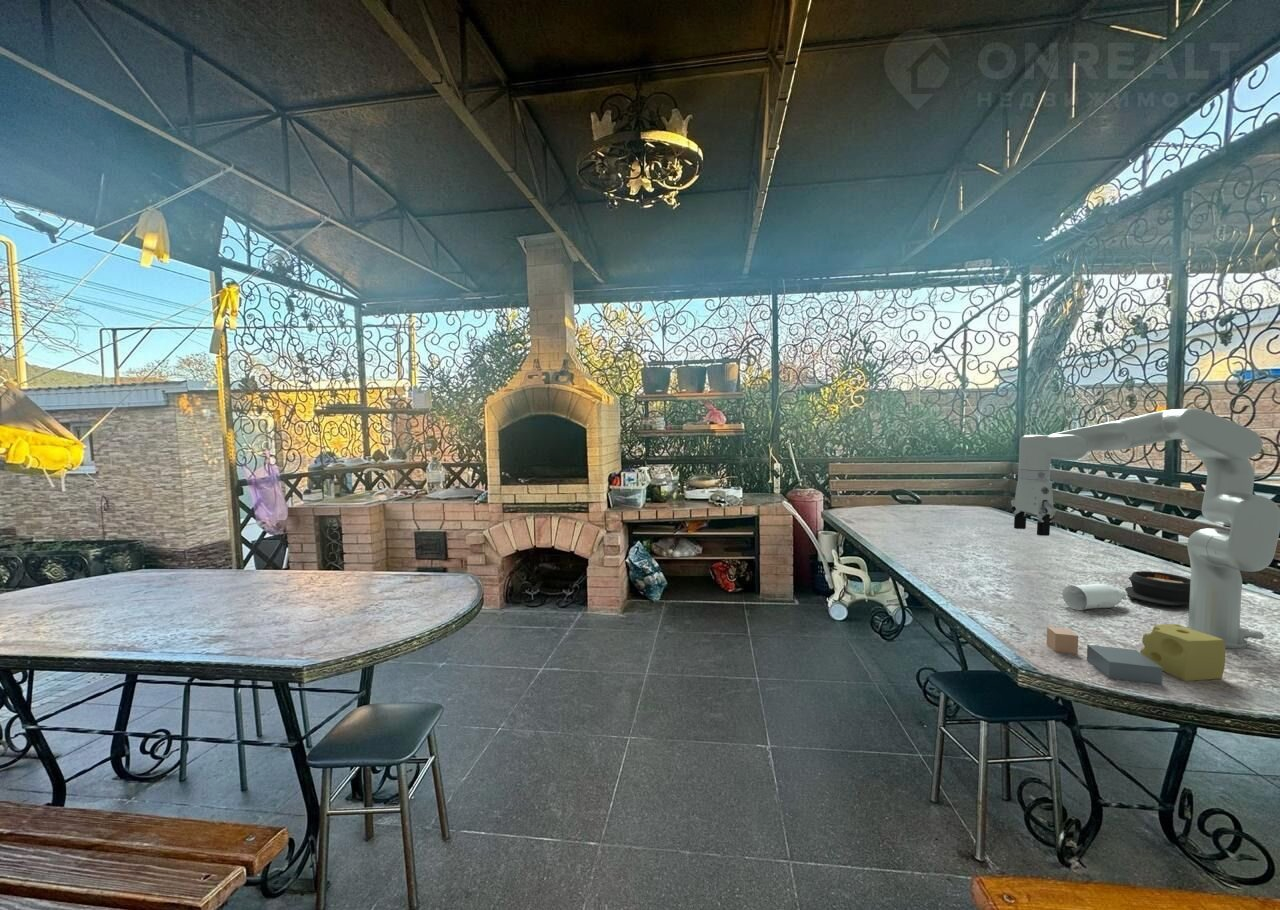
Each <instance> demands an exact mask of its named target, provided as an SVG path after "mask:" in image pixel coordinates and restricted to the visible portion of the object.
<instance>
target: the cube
mask: <svg viewBox="0 0 1280 910" xmlns="http://www.w3.org/2000/svg"><path fill="white" fill-rule="evenodd" d="M1046 628H1047V629H1046V645H1047V646H1049V648H1051V650H1052V651H1054V652H1055V653H1056V652H1058V653H1067V654H1074V655H1075V654H1077V655H1078V653H1079V649H1078V648H1079V635H1078V634H1077V633H1075V632H1074V631H1072V629H1070V628H1067V627H1066V628H1064V627H1057V626H1055V627H1054V626H1046Z"/></svg>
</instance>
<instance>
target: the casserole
mask: <svg viewBox="0 0 1280 910" xmlns="http://www.w3.org/2000/svg"><path fill="white" fill-rule="evenodd" d="M1128 580H1129V581H1130V584H1131V586H1128V587H1126V588H1124V590H1125V591H1124V592H1125V593H1126V594H1127V596H1128V597H1129V598H1132V599H1135V600H1136V599H1137V600H1139V601H1144V602H1148V603H1154V604H1157V605H1158V604H1159V605H1164V606H1175V607H1177V606H1178V607H1179V606H1189V601H1190V582H1191V578H1189V577H1185V576H1181V575H1177V574H1172V573H1166V572H1160V571H1159V572H1158V571H1149V570H1148V571H1146V570H1144V571H1142V570H1141V571H1133V572H1132V574H1131V575H1130V576H1129V577H1128Z"/></svg>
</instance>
